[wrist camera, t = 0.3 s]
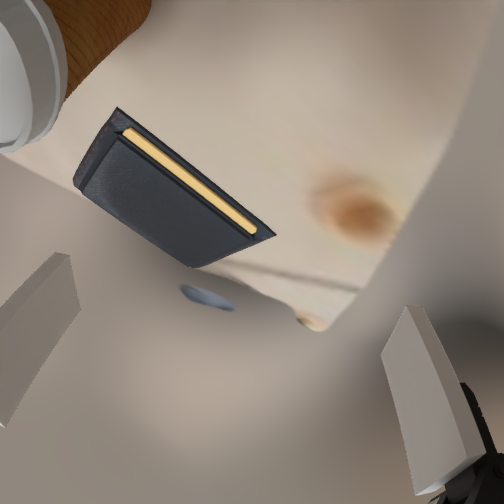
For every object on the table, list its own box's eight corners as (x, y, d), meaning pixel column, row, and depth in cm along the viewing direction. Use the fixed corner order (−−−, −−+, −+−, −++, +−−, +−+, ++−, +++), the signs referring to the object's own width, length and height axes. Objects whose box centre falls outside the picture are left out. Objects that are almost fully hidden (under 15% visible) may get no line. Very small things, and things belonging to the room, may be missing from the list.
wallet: (64, 188, 31) (111, 109, 21) (72, 177, 32) (123, 97, 22) (190, 277, 41) (277, 247, 31) (194, 265, 42) (280, 232, 32)
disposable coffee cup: (45, -1, 13) (-80, 80, 7) (128, -83, 9) (-39, -48, 2) (106, 76, 20) (4, 181, 13) (201, 14, 15) (79, 105, 9)
